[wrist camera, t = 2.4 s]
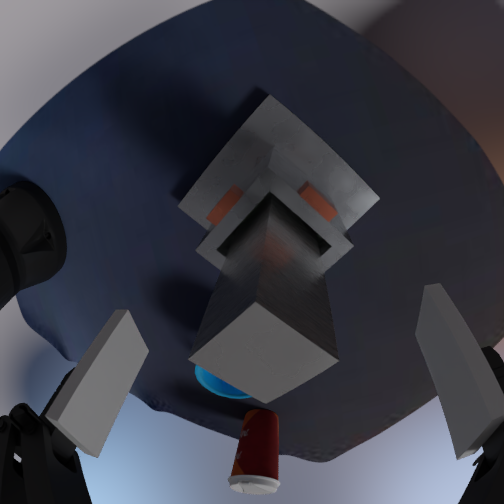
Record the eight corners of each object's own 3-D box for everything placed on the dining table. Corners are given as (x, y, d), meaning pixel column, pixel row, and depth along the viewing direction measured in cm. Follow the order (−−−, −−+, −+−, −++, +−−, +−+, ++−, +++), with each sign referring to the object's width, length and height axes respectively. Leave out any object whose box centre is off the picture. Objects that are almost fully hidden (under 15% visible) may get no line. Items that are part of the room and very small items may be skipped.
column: (244, 202, 27) (182, 358, 11) (275, 169, 26) (254, 295, 9) (279, 231, 28) (265, 406, 12) (310, 200, 27) (344, 360, 10)
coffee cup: (232, 407, 46) (217, 481, 33) (277, 402, 44) (271, 482, 31) (248, 428, 50) (238, 495, 36) (289, 424, 48) (285, 495, 34)
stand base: (182, 201, 30) (131, 253, 20) (270, 95, 24) (260, 83, 14) (282, 281, 33) (278, 358, 23) (375, 194, 27) (421, 245, 17)
